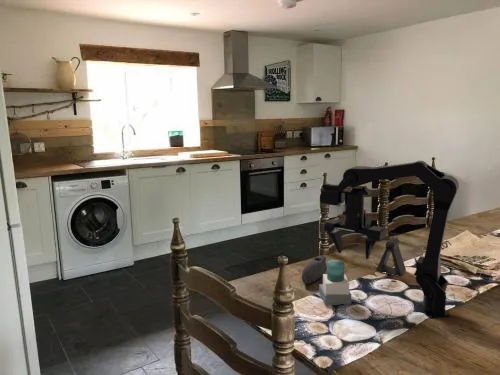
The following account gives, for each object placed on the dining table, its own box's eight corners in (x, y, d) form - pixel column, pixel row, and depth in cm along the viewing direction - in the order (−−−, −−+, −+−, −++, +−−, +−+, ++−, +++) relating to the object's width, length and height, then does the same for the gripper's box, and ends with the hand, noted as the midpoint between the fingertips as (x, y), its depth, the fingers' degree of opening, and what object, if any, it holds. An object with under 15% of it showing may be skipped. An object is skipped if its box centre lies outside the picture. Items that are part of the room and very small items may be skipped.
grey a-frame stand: (375, 271, 145) (377, 239, 143) (381, 265, 150) (382, 235, 148) (401, 276, 140) (403, 244, 138) (406, 271, 145) (407, 239, 142)
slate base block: (351, 305, 121) (351, 294, 120) (325, 306, 120) (325, 295, 120) (343, 293, 129) (343, 283, 128) (319, 294, 128) (319, 284, 128)
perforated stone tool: (309, 289, 132) (309, 269, 130) (295, 285, 135) (295, 265, 134) (330, 274, 143) (330, 256, 142) (317, 270, 146) (317, 253, 145)
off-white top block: (348, 294, 120) (349, 283, 120) (325, 294, 121) (325, 283, 120) (344, 284, 127) (345, 274, 126) (322, 284, 128) (322, 274, 127)
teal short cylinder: (346, 281, 121) (346, 266, 120) (329, 282, 121) (329, 266, 120) (341, 274, 126) (341, 259, 125) (325, 275, 126) (325, 260, 125)
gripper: (393, 206, 123) (392, 254, 126) (338, 199, 135) (338, 243, 138) (379, 213, 115) (378, 265, 117) (322, 205, 126) (322, 252, 129)
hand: (353, 255), depth 126 cm, fingers open, 9 cm apart
